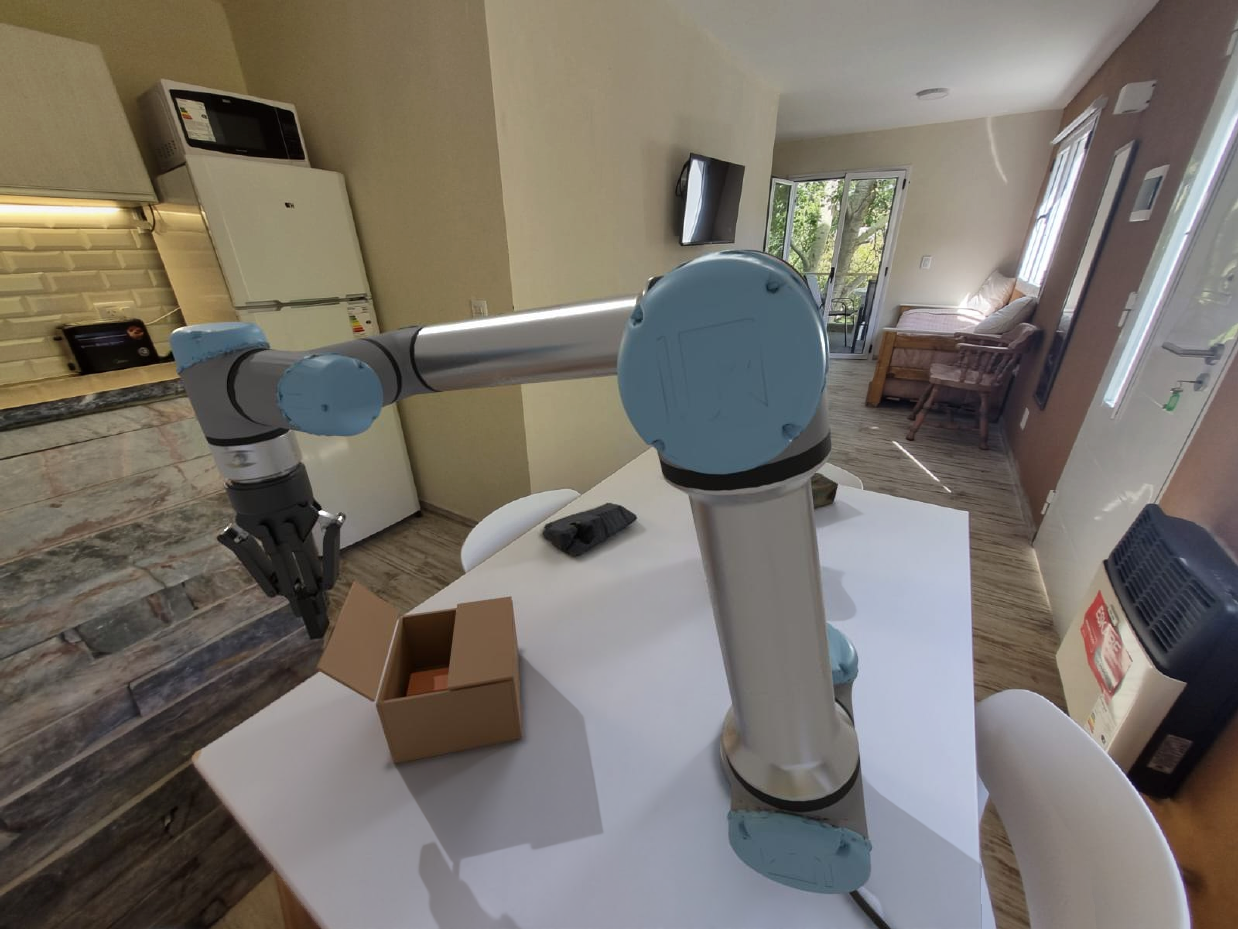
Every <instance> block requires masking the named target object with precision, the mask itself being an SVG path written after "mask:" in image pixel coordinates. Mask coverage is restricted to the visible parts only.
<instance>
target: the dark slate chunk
mask: <svg viewBox="0 0 1238 929" xmlns="http://www.w3.org/2000/svg"><path fill="white" fill-rule="evenodd" d="M637 519H638V516H637V514H635V513H634V512H632V511H631V510H630V509H627V508H626V507H625V506H623V505H621V504H617V503H612V502H606V503H604V504H602V505H599V506H598V507H597V506H596V507H595V508H591V509H588V510H585V511H580V512H577V513H573V514H570V515H566V516H564V517H560V518H558V519H556V520H554V521H550V522H548V523H546V524H545V525H544V527H543V529H544V530H542V532H541V533H542V536H543V538H544V539H545V540H548V541H549V542H550V543H551V544H552V545H553V547H555V548H556V549H558V550H559V551H562V552H567V554H570V555H572V556H573V557H575V556H576V557H579V556H581V555H583V553H584V552H587V551H588V550H591V549H593V548H595V547H598V545H601V544H603V543H605V542H606V541H607V540H608V539H609V538H611V537H612V536H615V535H617V534H618V533H619V532H621V531H623V530H624V529H626V528H627V527H628V526H630V525H631V524H633V523H635V522H636V521H637ZM575 539H579V540H580V541H581V542H583V543H586V544H580V543H579V542H578V541H576V540H575Z"/></svg>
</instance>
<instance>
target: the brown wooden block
mask: <svg viewBox="0 0 1238 929" xmlns="http://www.w3.org/2000/svg"><path fill="white" fill-rule="evenodd" d="M810 479H811V488H812V497H813V506H814V508H817V507H821V506H825V505H828V504H831V503H834V501H835V499H836V496H837V491H838V489H839V488H838V487H839V484H838V483H837V482H836V481H835V480H832V479H830V478H828V477H827V476H825V475H824V474H823V473H822V472H821V473H820V472H816V473H815V474H814V475H813V476H812V477H811V478H810Z"/></svg>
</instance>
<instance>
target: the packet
mask: <svg viewBox="0 0 1238 929" xmlns="http://www.w3.org/2000/svg"><path fill="white" fill-rule="evenodd" d="M448 673H449V667H447V668H441V669H435V670H429V671H423V672H417V673H411V676H410V681H409V686H408V690H407V695H406V696H407V697H408V696H414V695H420V694H425V693H431V692H437V691H443V690H447V681H448Z"/></svg>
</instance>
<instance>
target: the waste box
mask: <svg viewBox="0 0 1238 929" xmlns="http://www.w3.org/2000/svg"><path fill="white" fill-rule="evenodd" d="M387 658H388V659H387V661H386V664H385V665H386V666H385V668H384V672H383V675H382V679H381V682H380V684H381V685H380V686H379V690H378V693H377V694H378V695H377V697H376V698H377V699H376V702H375V708H376V711H377V714H378V718H379V721H380V724H381V728H382V732H383V733H384V737H385V740H386V744H387V746H388V750H389V752H390V756H391V760H392V763H393V764H400V763H405V762H409V761H416V760H419V759H425V758H431V757H436V756H440V755H445V754H451V753H456V752H460V751H465V750H471V749H476V748H481V747H486V746H491V745H496V744H500V743H507V742H511V741H517V740H521V739H523V736H522V735H523V734H522V705H521V704H522V703H521V682H520V681H521V680H520V679H521V678H520V677H521V676H520V652H519V644H518V636H517V627H516V617H515V610H514V601H513V598H512V596H503V597H495V598H490V599H481V600H476V601H468V602H461V603H460V602H459V603H457V604H456V607H453V608H445V609H439V610H432V611H431V610H430V611H424V612H419V613H418V612H417V613H411V614H404V615H403V614H402V615H399V617H398V620H397V624H396V628H395V631H394V635H393V639H392V642H391V646H390V650H389V653H388V657H387ZM447 667H449V673H448V681H447V690H443V691H437V692H431V693H425V694H420V695H414V696H408V697H407V696H406V695H407V690H408V686H409V681H410V676H411V673H417V672H423V671H429V670H435V669H441V668H447Z"/></svg>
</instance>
